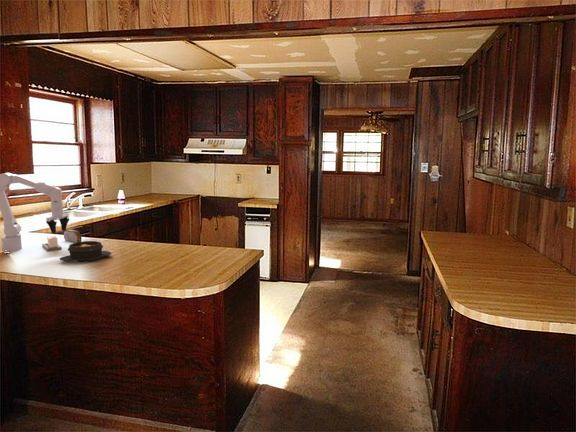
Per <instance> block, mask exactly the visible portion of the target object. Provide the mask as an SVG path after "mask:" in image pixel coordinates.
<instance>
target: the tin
mask: <svg viewBox="0 0 576 432" xmlns="http://www.w3.org/2000/svg"><path fill="white" fill-rule="evenodd" d="M63 237H64V238H63V239H64V241H65V242H68V241H69V242H73V243H77V242H82V234H81V233H80V231H78V230H76V229H71V228H69V229H66V231H63Z"/></svg>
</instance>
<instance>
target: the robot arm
mask: <svg viewBox="0 0 576 432" xmlns="http://www.w3.org/2000/svg"><path fill="white" fill-rule="evenodd" d="M12 184H21V185H25V186H27V187H31V188H34V189H35V191H36V192H38V193H41V194H44V195H47V196H49V197H50V205H51V207H50V208H51V216H49V217H46V221H45V222H46V224H47V225H48V227H49V229H50V231H51V232H50V233H51V234H56V232H57V228H56V227H57V223H58V222H57V220H58V221H59V222H60V227H61V231H62V232H64V231H66V230H67V226H68V223H69V221H70V218H69V217H70V216H69V214H64V208H63V207H64V206H63V197H62V194H63V190H62V188H60V187H58V186H55V185H50V184H49V183H46V181H38V182H37V181H34V180H31V179H28V178H27V177H25V176H22V175H18V174H16V173H11V172H5V173H0V214H1V216H2V219H3V220H2V221H3V228H4V229H3V233H4V235H5V236H2V237H1V238H0V239H1V240H0V241H1V242H0V243H1V251H3V252H10V251H19V250H22V249H23V247H22V244H23V243H22V236H21V235H22V234H21V233H20V232H21V231H22V227H21V225H20V224H19V223H18V221H17V219H15V217H14V213H13V210H12V208H11V205H10V202H9V199H8V197H7V194H6V190H7V189H8V187H9V186H10V185H12ZM5 250H7V251H5ZM3 252H2V253H3Z"/></svg>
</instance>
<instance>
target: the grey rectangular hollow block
mask: <svg viewBox="0 0 576 432" xmlns="http://www.w3.org/2000/svg"><path fill="white" fill-rule="evenodd" d="M41 246H42V248H43V249H44V250H45V251H46V252H52V251H61V250H62V249H63V248H62V246H61V245H60V244H58V247H53V248H49V246H48V242H47V243H42V245H41Z"/></svg>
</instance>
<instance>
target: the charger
mask: <svg viewBox="0 0 576 432" xmlns="http://www.w3.org/2000/svg"><path fill="white" fill-rule="evenodd" d="M47 243H48V246H49V248H53V247H58V245H59V244H58V243H59V242H58V237H56V236H48V237H47Z"/></svg>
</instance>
